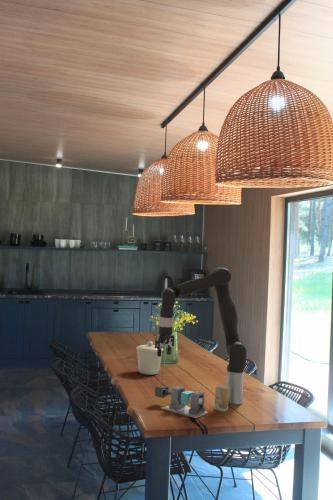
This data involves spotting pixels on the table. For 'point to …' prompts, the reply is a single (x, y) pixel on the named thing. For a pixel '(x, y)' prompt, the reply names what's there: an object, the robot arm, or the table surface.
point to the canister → (148, 359)
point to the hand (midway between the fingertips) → (163, 355)
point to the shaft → (168, 393)
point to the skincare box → (221, 398)
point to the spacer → (185, 397)
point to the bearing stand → (177, 407)
